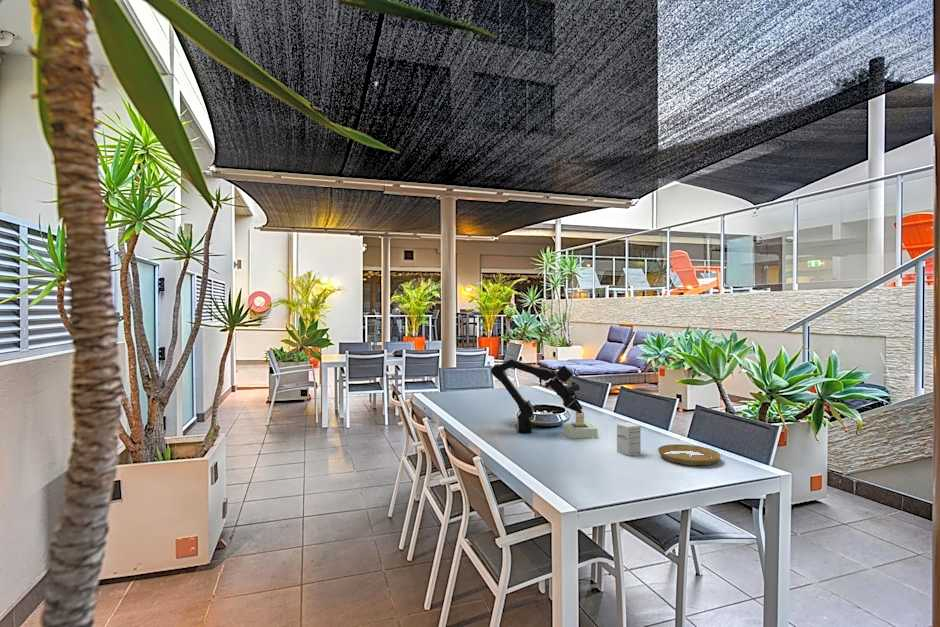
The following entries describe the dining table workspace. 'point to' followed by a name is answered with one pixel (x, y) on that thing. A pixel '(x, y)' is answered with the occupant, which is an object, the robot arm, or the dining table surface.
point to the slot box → (580, 430)
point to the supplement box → (628, 438)
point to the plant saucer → (685, 458)
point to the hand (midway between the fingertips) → (581, 410)
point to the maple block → (579, 419)
